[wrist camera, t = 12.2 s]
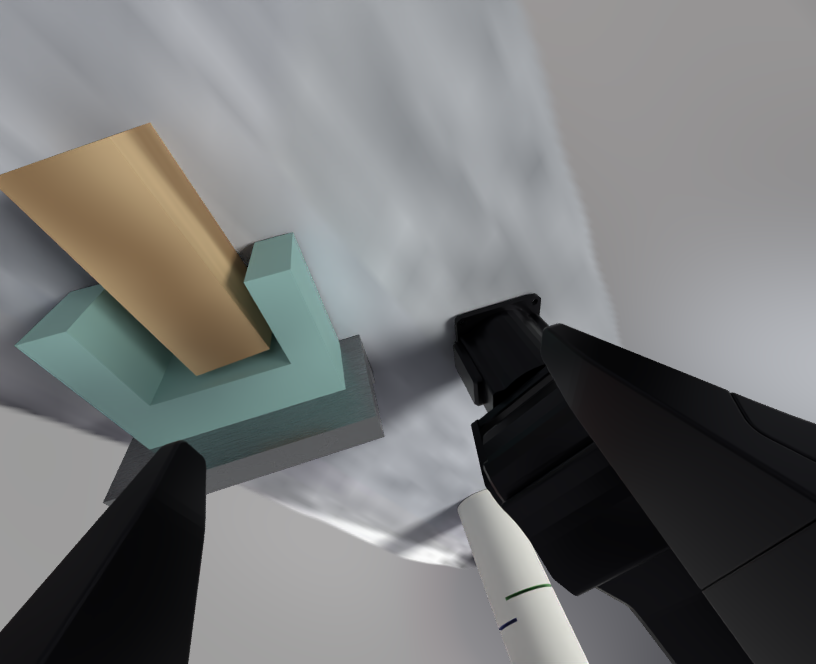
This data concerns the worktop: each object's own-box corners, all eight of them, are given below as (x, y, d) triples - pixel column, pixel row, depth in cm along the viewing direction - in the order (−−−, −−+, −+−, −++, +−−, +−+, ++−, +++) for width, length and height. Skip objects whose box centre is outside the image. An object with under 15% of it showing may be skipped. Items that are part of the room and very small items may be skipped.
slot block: (292, 232, 17) (290, 269, 14) (339, 343, 22) (345, 389, 19) (70, 291, 16) (14, 345, 13) (172, 393, 22) (149, 449, 18)
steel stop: (359, 334, 23) (376, 415, 17) (373, 373, 25) (391, 454, 20) (152, 396, 22) (103, 502, 16) (188, 430, 24) (156, 531, 19)
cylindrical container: (447, 513, 45) (553, 842, 26) (482, 485, 42) (630, 829, 23) (482, 516, 49) (597, 805, 30) (516, 490, 46) (668, 790, 27)
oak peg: (152, 122, 14) (109, 136, 11) (274, 306, 20) (269, 349, 17) (58, 154, 14) (-11, 178, 11) (212, 329, 20) (196, 376, 17)
